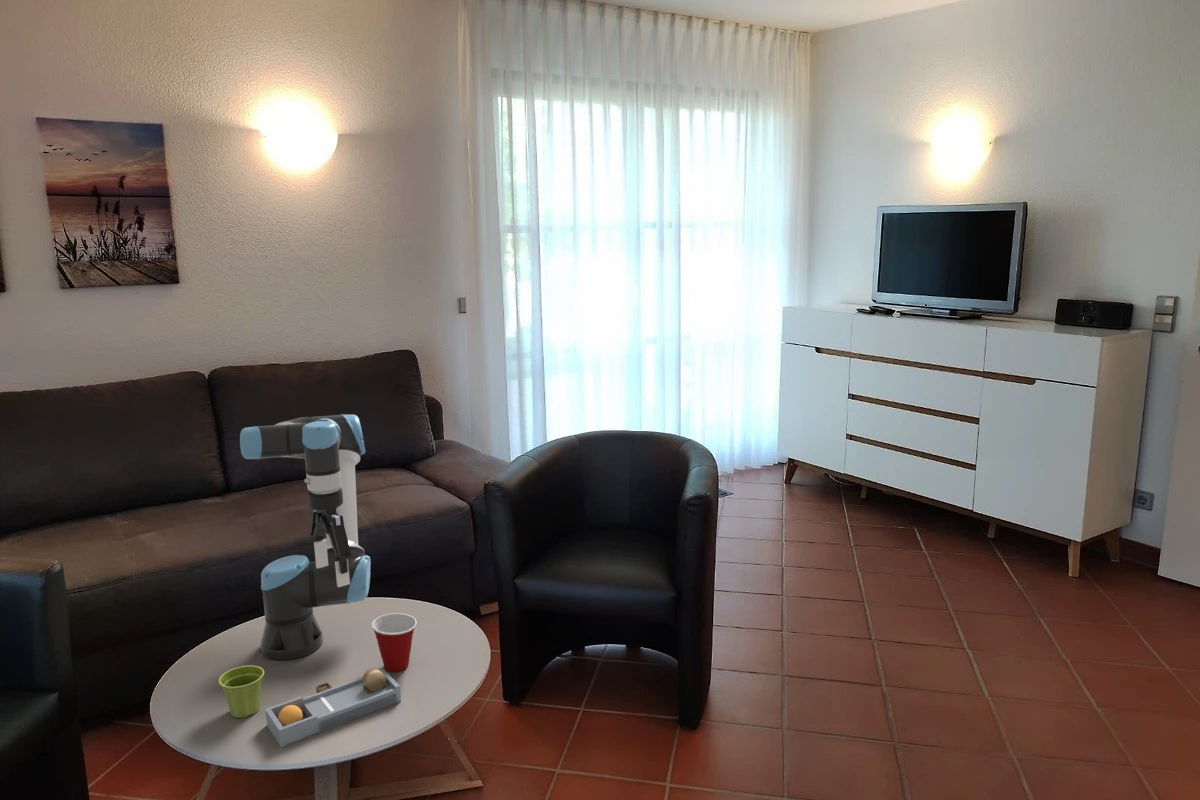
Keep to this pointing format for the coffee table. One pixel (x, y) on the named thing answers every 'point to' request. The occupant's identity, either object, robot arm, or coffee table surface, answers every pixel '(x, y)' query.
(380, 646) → the plastic cup
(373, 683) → the block
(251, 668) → the plant pot
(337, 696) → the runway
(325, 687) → the small wooden crate
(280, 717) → the ball
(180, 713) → the coffee table surface
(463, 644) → the coffee table surface
